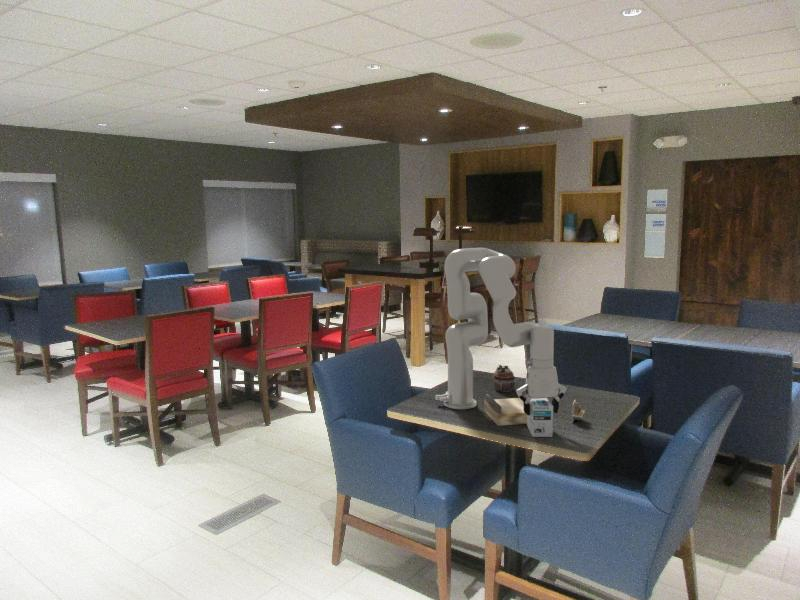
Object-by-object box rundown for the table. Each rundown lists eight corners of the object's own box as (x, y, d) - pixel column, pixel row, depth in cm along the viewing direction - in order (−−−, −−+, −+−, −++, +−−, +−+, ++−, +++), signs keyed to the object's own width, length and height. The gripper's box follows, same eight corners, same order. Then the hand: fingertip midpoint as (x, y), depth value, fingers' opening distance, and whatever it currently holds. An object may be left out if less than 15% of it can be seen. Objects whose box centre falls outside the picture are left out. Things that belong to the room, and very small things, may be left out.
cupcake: (516, 393, 239) (517, 369, 237) (492, 392, 240) (492, 368, 238) (514, 386, 248) (515, 363, 246) (491, 385, 249) (492, 362, 248)
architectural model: (584, 420, 208) (585, 400, 207) (581, 426, 202) (582, 406, 201) (574, 419, 210) (575, 399, 208) (571, 425, 203) (572, 404, 202)
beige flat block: (497, 425, 202) (498, 407, 201) (483, 410, 218) (484, 393, 217) (536, 423, 204) (536, 405, 203) (519, 408, 220) (520, 391, 219)
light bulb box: (553, 437, 192) (554, 405, 190) (532, 437, 192) (533, 405, 190) (545, 425, 202) (546, 395, 200) (526, 425, 202) (526, 395, 201)
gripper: (520, 367, 188) (520, 418, 191) (571, 364, 191) (570, 414, 193) (512, 361, 196) (512, 411, 198) (561, 359, 198) (560, 407, 201)
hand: (541, 413), depth 196 cm, fingers open, 9 cm apart
